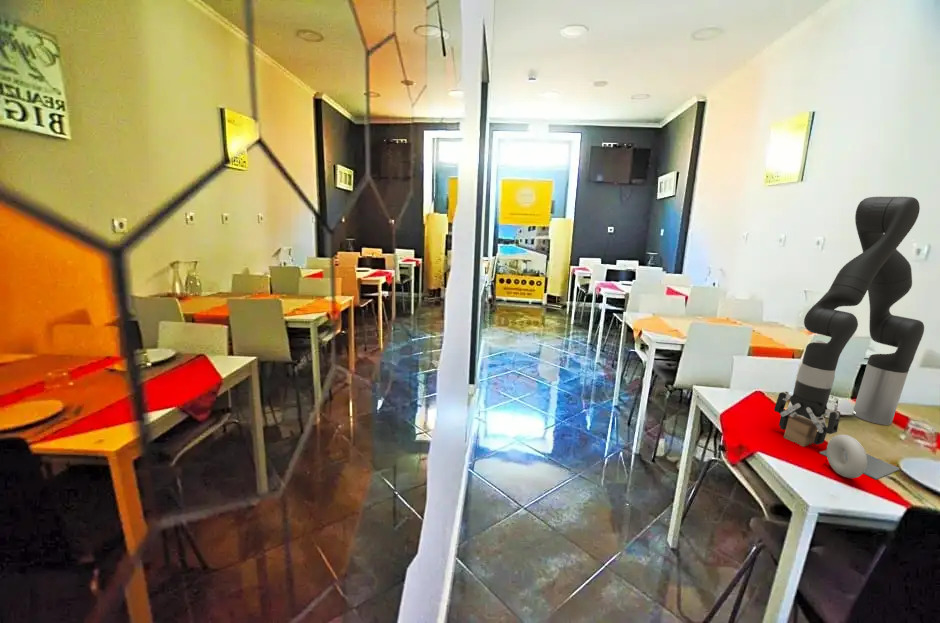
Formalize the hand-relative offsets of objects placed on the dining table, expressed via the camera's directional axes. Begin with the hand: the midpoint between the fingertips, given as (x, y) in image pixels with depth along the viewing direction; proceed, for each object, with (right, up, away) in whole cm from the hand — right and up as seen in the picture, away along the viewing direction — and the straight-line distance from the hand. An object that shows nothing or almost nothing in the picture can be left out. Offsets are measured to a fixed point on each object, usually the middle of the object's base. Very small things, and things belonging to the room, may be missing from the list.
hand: (799, 436), depth 117 cm
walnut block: (0, -1, 0) cm, 1 cm away
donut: (-2, -5, -15) cm, 16 cm away
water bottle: (+11, +1, +14) cm, 18 cm away
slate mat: (+9, -4, -9) cm, 13 cm away
